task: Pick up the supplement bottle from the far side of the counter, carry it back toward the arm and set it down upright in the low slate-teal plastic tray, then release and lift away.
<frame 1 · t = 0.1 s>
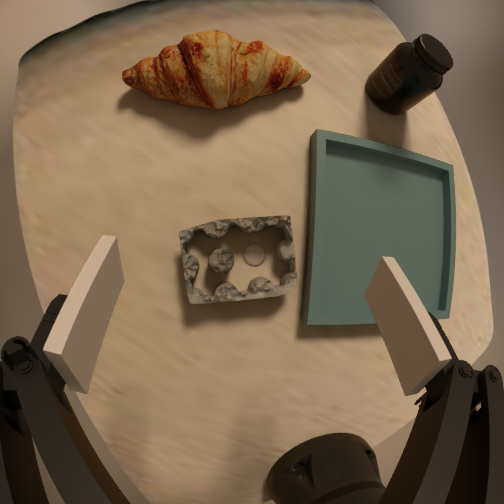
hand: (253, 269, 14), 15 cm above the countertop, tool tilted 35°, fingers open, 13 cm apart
egg carton: (237, 259, 30), on the countertop
supplement bottle: (385, 95, 31), on the countertop
tray: (387, 233, 31), on the countertop
croissant: (216, 82, 29), on the countertop
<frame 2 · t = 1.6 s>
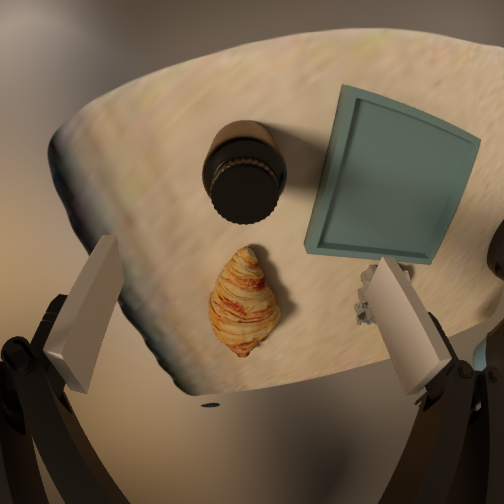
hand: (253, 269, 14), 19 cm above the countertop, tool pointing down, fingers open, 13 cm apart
egg carton: (376, 286, 42), on the countertop
supplement bottle: (243, 149, 29), on the countertop
tray: (396, 184, 32), on the countertop
croissant: (244, 299, 42), on the countertop
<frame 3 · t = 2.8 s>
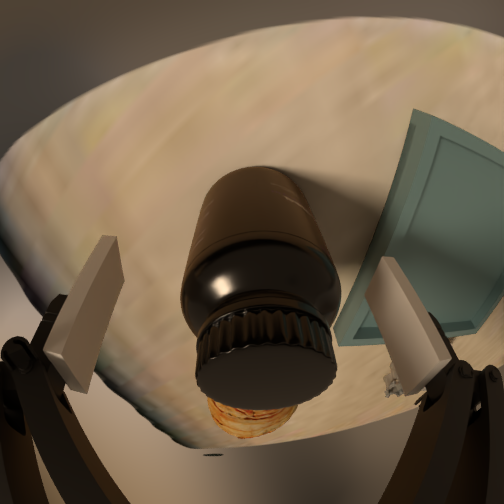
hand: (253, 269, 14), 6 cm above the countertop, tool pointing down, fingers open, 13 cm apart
egg carton: (411, 355, 32), on the countertop
supplement bottle: (253, 211, 19), on the countertop
tray: (459, 250, 21), on the countertop
croissant: (252, 381, 32), on the countertop
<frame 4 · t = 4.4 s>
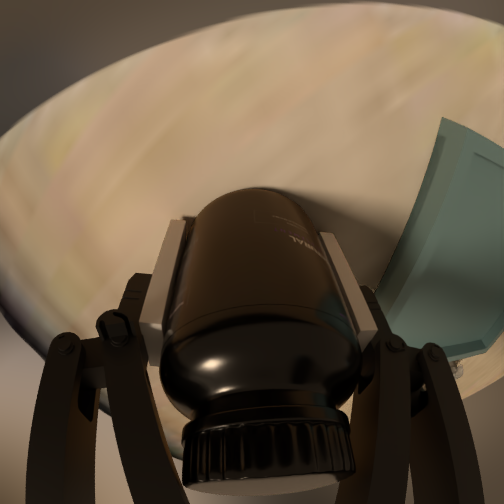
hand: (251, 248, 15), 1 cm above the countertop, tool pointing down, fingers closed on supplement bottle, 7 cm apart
supplement bottle: (250, 240, 16), on the countertop, touching gripper
tray: (476, 272, 18), on the countertop
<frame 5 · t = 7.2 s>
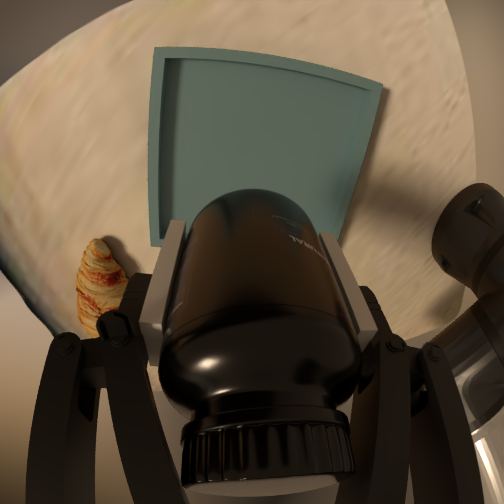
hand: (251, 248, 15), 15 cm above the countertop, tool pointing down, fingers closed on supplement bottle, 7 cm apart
supplement bottle: (250, 240, 16), point 14 cm above the countertop, touching gripper
tray: (256, 156, 27), on the countertop
croissant: (116, 294, 37), on the countertop
when the fingers open (3 cm above the countertop, at t = 10.6 s): supplement bottle drops 2 cm, resting on tray.
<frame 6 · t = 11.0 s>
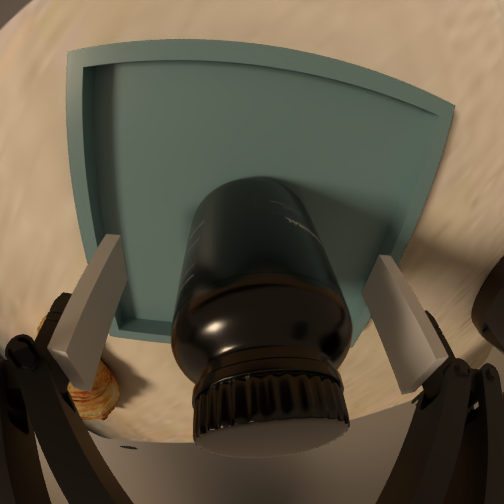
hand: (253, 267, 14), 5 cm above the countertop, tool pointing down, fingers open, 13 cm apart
supplement bottle: (249, 225, 17), point 1 cm above the countertop, touching tray
tray: (248, 219, 18), on the countertop
croissant: (85, 364, 28), on the countertop
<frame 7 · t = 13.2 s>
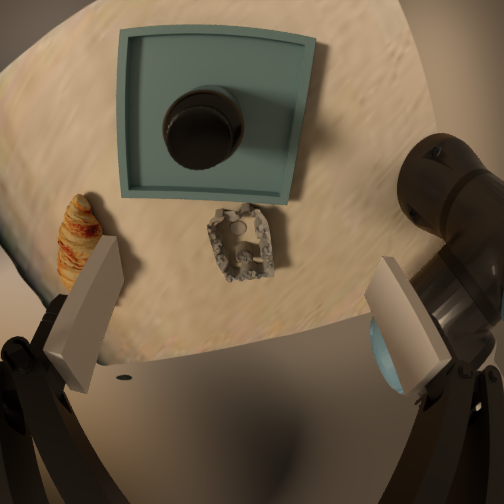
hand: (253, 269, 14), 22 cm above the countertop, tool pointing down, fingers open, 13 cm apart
egg carton: (241, 236, 40), on the countertop
supplement bottle: (208, 113, 28), point 1 cm above the countertop, touching tray
tray: (208, 112, 29), on the countertop
croissant: (93, 251, 39), on the countertop
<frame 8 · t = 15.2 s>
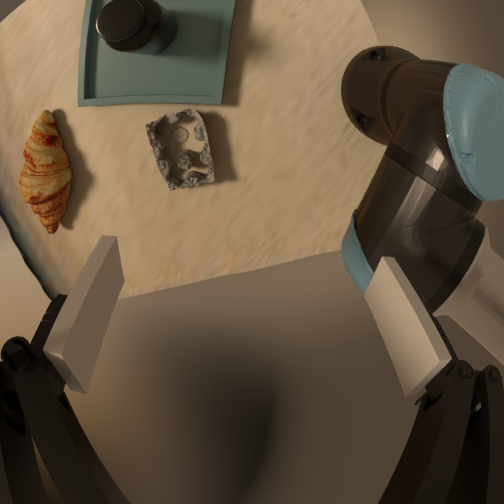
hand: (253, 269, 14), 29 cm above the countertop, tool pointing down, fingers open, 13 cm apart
egg carton: (185, 145, 38), on the countertop
supplement bottle: (153, 31, 27), point 1 cm above the countertop, touching tray
tray: (154, 32, 27), on the countertop
croissant: (54, 169, 37), on the countertop
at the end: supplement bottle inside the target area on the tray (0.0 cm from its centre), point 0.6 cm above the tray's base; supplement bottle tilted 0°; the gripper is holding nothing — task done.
